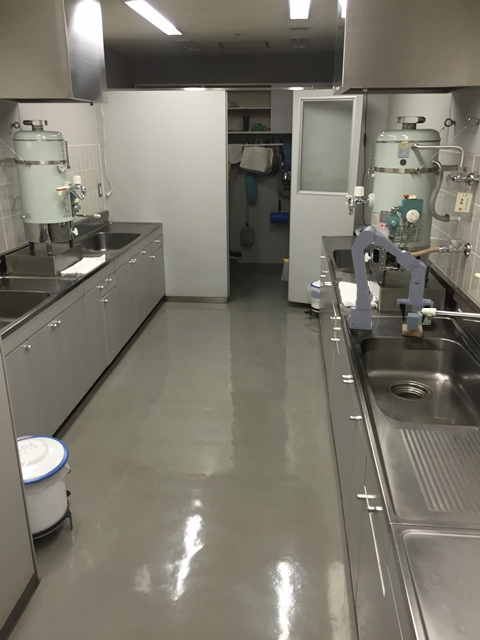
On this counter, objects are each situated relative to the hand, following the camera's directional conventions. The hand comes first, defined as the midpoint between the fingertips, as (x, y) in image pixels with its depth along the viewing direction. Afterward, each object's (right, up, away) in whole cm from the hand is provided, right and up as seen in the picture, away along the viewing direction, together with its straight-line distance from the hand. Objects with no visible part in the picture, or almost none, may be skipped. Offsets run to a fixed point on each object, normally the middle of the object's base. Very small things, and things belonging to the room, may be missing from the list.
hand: (412, 321), depth 223 cm
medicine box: (+9, +1, +18) cm, 20 cm away
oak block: (0, -5, +2) cm, 5 cm away
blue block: (0, -3, +1) cm, 3 cm away
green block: (+8, -1, +11) cm, 14 cm away
